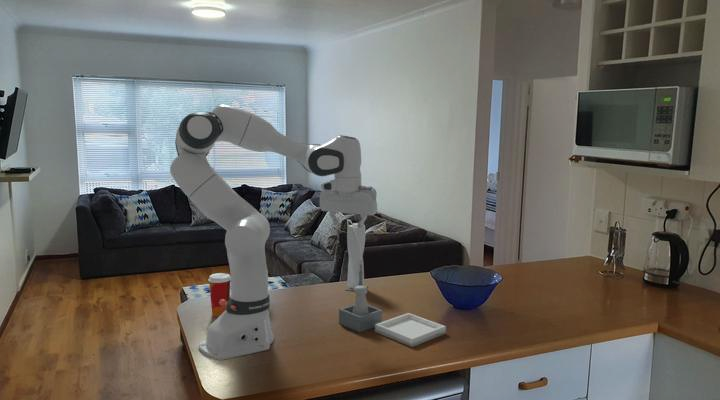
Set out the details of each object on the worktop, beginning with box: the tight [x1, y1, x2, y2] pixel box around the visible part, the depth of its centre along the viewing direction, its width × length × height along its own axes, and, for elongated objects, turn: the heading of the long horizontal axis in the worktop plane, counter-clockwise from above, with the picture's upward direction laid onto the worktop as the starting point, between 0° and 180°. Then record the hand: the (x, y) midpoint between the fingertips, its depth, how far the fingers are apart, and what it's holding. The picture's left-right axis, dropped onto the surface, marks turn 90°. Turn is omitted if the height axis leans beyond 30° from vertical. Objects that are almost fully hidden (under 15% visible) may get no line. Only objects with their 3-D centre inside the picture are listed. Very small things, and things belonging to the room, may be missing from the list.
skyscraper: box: [345, 219, 369, 292], centre depth 221 cm, size 8×8×28 cm
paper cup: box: [207, 272, 231, 319], centre depth 190 cm, size 8×8×14 cm
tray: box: [374, 312, 447, 348], centre depth 177 cm, size 16×16×2 cm
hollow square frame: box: [338, 304, 383, 333], centre depth 184 cm, size 10×10×5 cm
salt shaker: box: [353, 285, 369, 316], centre depth 183 cm, size 6×6×13 cm
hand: (348, 226), depth 183 cm, fingers open, 8 cm apart
